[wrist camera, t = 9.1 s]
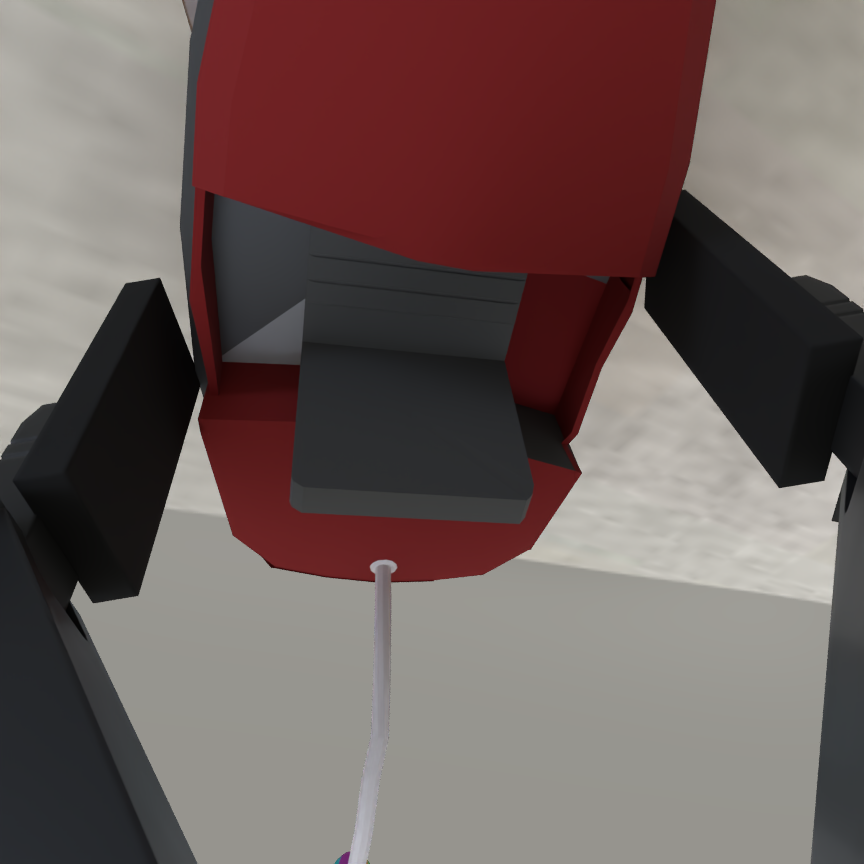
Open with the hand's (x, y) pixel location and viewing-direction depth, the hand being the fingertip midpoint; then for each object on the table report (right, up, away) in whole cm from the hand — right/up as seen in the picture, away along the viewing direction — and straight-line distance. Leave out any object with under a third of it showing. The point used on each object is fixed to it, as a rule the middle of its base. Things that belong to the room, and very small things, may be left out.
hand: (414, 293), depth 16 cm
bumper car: (0, +1, +1) cm, 2 cm away
